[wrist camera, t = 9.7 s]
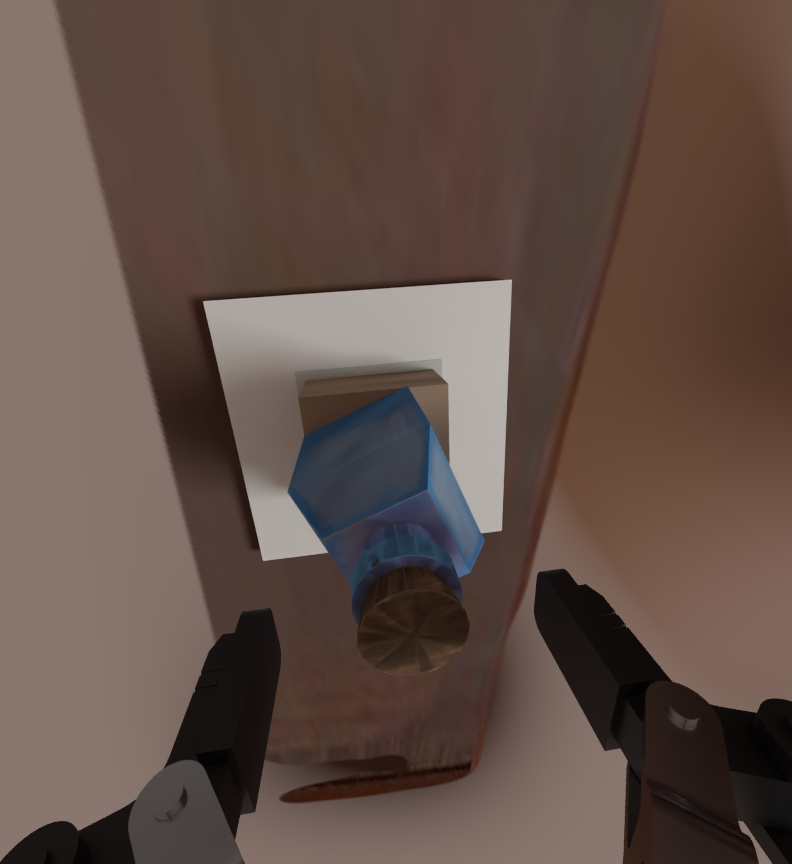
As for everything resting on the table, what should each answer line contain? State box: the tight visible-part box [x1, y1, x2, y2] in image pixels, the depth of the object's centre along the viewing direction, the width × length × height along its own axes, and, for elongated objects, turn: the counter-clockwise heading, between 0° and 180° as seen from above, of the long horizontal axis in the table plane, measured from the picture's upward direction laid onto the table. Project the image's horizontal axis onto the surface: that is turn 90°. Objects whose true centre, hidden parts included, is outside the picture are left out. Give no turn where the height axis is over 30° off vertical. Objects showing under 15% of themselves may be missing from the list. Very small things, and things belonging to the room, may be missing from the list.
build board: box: [203, 280, 512, 561], centre depth 26 cm, size 18×18×1 cm
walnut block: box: [298, 369, 450, 465], centre depth 24 cm, size 8×8×4 cm
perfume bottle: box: [288, 386, 484, 676], centre depth 16 cm, size 6×6×12 cm
